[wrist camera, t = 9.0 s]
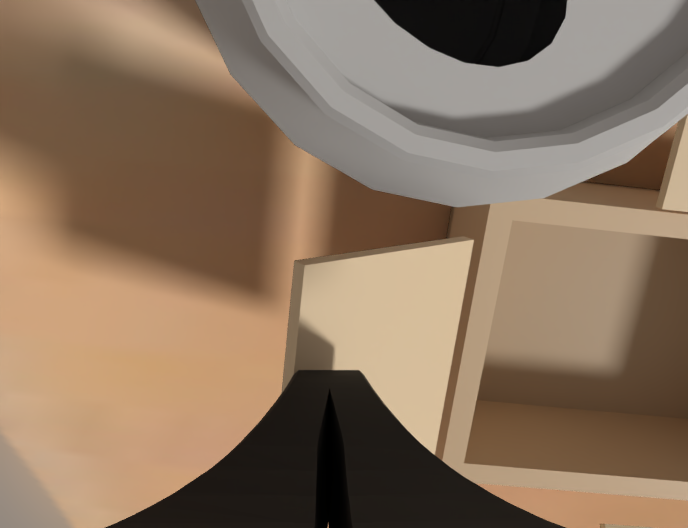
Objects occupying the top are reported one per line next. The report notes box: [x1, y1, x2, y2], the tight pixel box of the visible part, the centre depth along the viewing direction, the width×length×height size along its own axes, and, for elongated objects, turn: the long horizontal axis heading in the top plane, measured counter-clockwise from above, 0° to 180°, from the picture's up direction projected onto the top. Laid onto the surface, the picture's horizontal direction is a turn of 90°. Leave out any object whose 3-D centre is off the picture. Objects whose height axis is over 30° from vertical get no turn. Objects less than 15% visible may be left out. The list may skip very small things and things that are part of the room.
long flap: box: [281, 236, 474, 455], centre depth 14 cm, size 5×6×1 cm
